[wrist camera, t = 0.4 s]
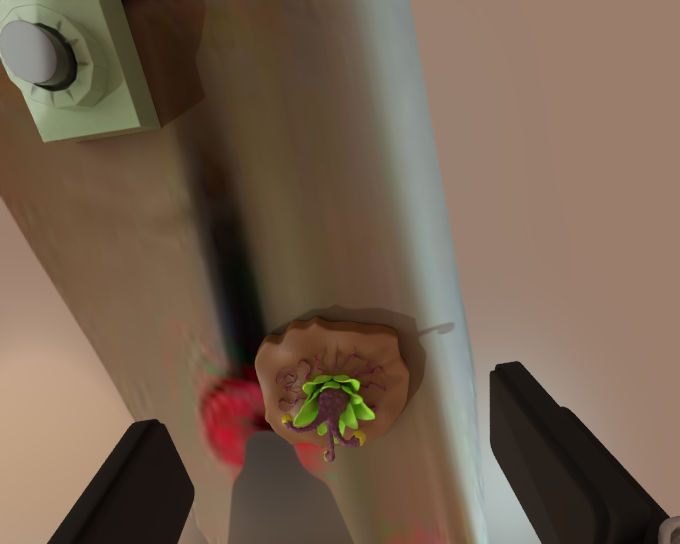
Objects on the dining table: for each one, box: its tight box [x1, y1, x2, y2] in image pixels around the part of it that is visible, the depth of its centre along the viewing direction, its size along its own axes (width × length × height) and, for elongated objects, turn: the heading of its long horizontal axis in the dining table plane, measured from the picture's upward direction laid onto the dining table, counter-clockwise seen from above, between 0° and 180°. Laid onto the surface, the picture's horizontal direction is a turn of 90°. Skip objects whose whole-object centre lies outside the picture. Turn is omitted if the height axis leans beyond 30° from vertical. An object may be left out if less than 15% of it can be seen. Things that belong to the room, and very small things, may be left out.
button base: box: [0, 0, 161, 143], centre depth 29 cm, size 11×9×6 cm
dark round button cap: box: [0, 20, 76, 88], centre depth 25 cm, size 4×4×2 cm
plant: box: [255, 316, 410, 462], centre depth 40 cm, size 20×20×11 cm
